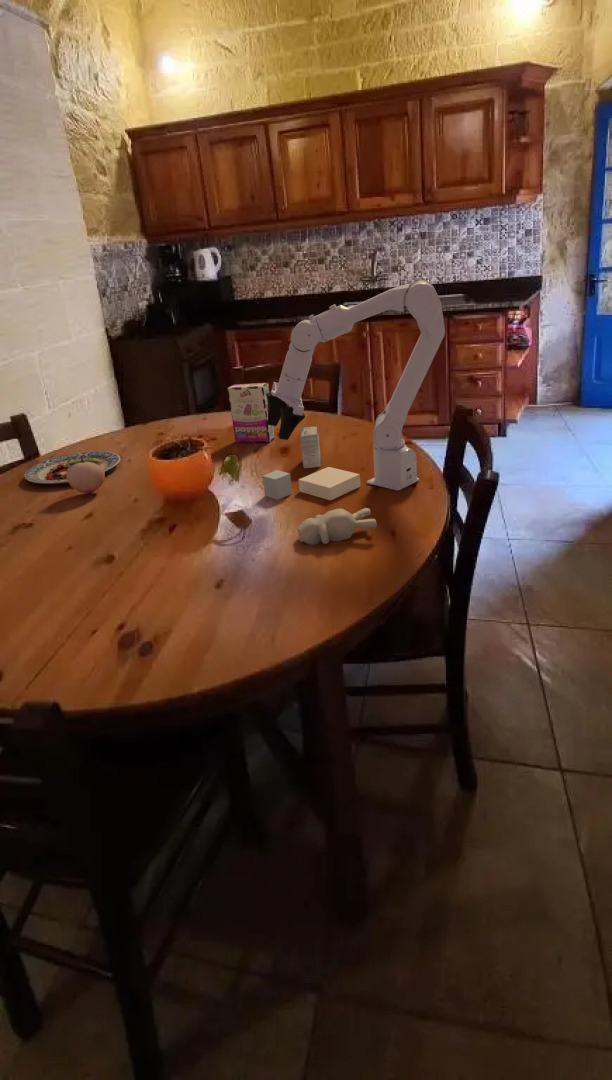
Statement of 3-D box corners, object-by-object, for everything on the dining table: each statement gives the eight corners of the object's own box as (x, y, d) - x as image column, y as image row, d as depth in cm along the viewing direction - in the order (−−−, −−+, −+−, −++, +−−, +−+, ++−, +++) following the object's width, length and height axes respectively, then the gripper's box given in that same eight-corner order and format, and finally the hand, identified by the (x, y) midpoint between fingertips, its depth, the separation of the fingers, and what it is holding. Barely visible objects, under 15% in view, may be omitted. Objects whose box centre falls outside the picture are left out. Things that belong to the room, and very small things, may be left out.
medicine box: (320, 467, 167) (317, 434, 164) (303, 469, 168) (300, 436, 164) (320, 457, 175) (317, 425, 171) (303, 459, 175) (300, 427, 171)
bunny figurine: (293, 514, 132) (366, 496, 132) (299, 536, 134) (370, 519, 134) (298, 533, 123) (376, 514, 123) (304, 557, 125) (380, 538, 125)
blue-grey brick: (292, 493, 153) (289, 473, 151) (277, 500, 150) (275, 479, 148) (279, 490, 156) (276, 470, 154) (265, 496, 153) (262, 475, 151)
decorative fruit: (73, 503, 161) (62, 464, 156) (70, 493, 168) (60, 455, 163) (111, 495, 164) (102, 456, 159) (107, 485, 171) (99, 448, 166)
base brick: (360, 486, 153) (359, 474, 151) (330, 500, 147) (329, 487, 145) (329, 478, 159) (328, 466, 158) (299, 491, 153) (298, 479, 152)
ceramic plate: (127, 476, 176) (125, 466, 175) (26, 497, 169) (23, 486, 167) (115, 452, 198) (113, 442, 197) (26, 470, 191) (23, 460, 189)
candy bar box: (275, 437, 195) (269, 382, 188) (270, 442, 191) (263, 386, 184) (241, 437, 199) (233, 383, 192) (234, 442, 194) (226, 387, 188)
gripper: (266, 361, 149) (251, 417, 156) (289, 384, 138) (272, 443, 145) (294, 366, 153) (278, 420, 159) (318, 389, 142) (300, 446, 148)
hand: (277, 431), depth 152 cm, fingers open, 7 cm apart
